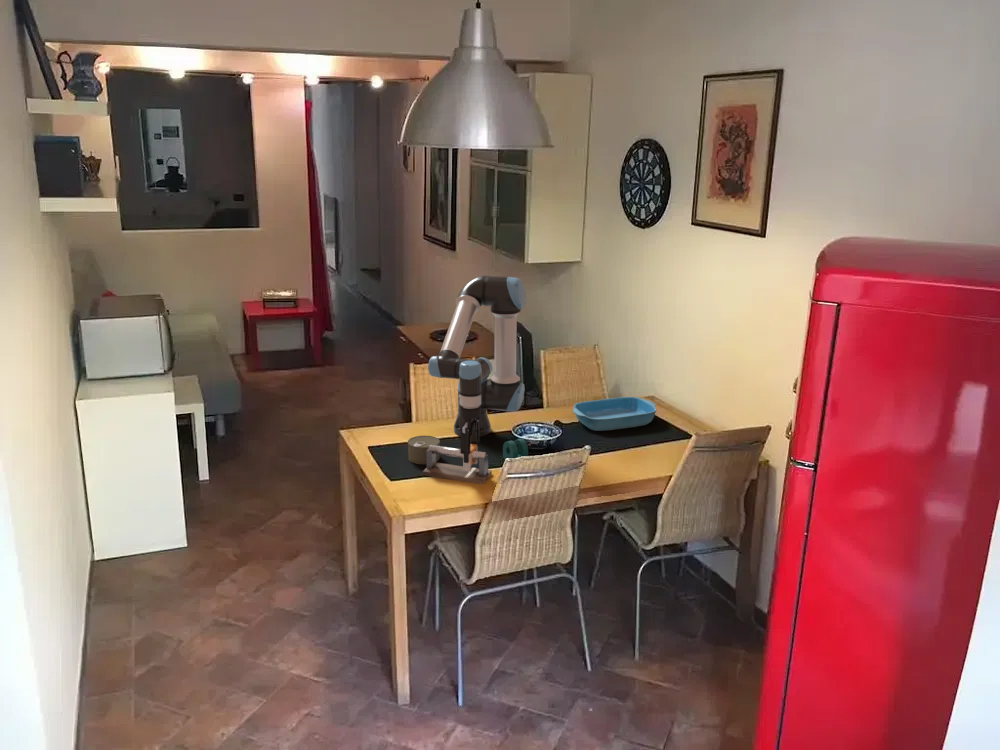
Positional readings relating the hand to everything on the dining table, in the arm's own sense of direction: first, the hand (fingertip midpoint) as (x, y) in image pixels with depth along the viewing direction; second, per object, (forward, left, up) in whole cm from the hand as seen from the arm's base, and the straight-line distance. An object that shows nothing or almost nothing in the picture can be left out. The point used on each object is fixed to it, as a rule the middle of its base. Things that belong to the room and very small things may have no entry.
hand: (470, 466), depth 295 cm
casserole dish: (-74, +38, -4) cm, 83 cm away
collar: (0, 0, +2) cm, 2 cm away
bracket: (-17, +15, -4) cm, 23 cm away
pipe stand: (0, -5, -4) cm, 6 cm away
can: (-10, -22, -4) cm, 25 cm away
